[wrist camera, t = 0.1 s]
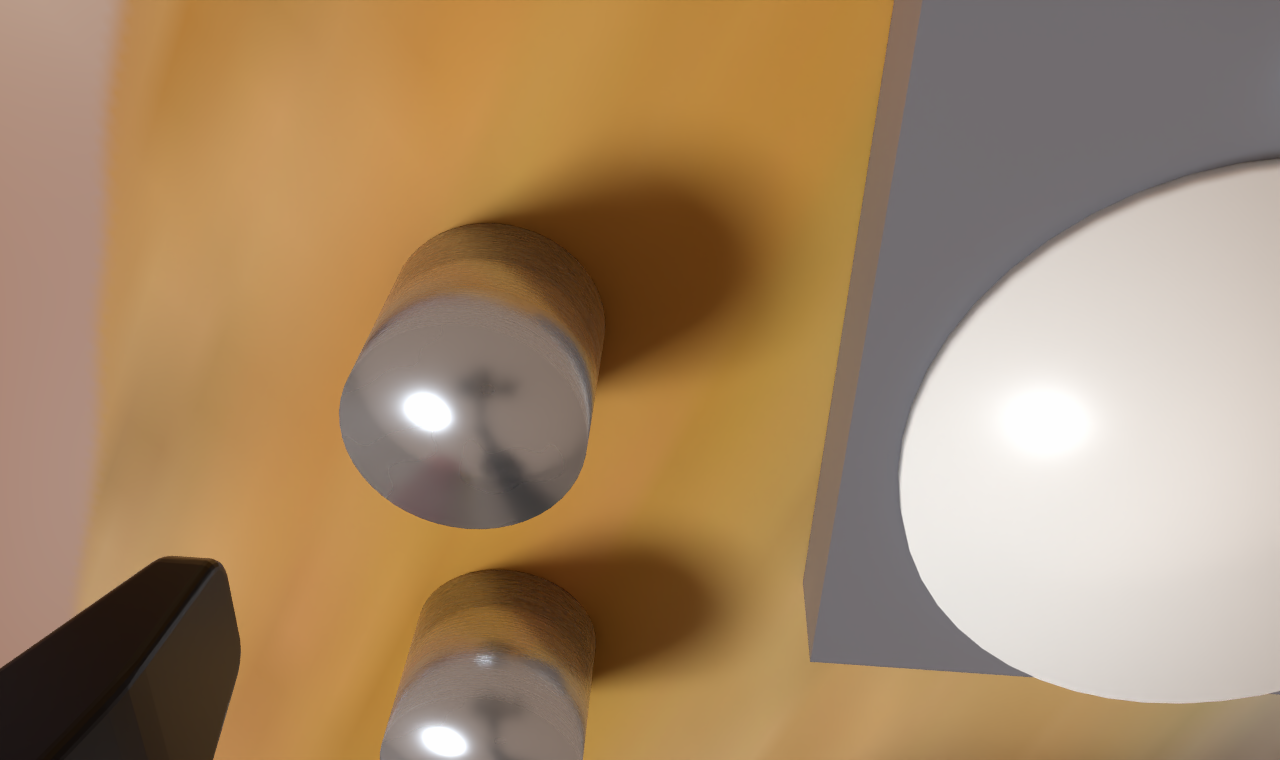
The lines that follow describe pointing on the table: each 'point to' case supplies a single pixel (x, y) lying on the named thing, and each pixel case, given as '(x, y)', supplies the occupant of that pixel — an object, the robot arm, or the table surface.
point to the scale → (1063, 354)
